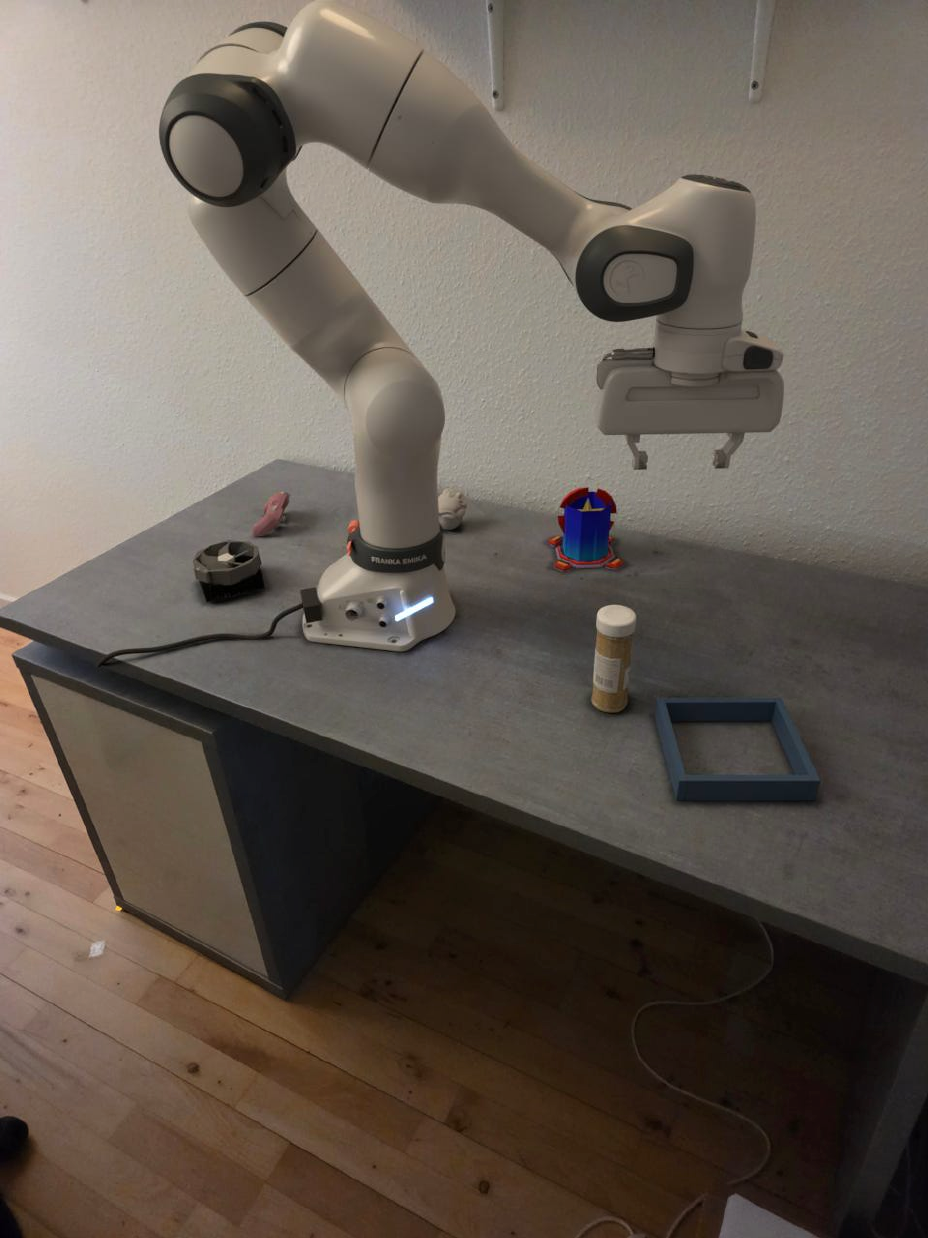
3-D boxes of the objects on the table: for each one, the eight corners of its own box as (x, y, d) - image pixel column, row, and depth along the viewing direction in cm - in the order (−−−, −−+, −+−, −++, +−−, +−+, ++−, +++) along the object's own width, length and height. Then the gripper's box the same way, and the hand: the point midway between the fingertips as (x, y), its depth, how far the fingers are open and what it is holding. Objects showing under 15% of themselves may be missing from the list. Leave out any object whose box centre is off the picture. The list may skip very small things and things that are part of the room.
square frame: (675, 800, 86) (679, 780, 84) (654, 716, 97) (656, 697, 95) (814, 800, 85) (820, 780, 83) (776, 716, 96) (781, 697, 95)
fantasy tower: (613, 535, 136) (619, 470, 129) (627, 570, 126) (633, 501, 120) (545, 538, 136) (547, 473, 129) (553, 573, 126) (555, 504, 120)
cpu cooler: (251, 533, 129) (265, 561, 121) (257, 564, 132) (271, 592, 124) (186, 547, 125) (196, 577, 118) (194, 578, 128) (204, 609, 121)
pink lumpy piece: (274, 545, 140) (286, 513, 137) (249, 535, 139) (261, 502, 136) (285, 520, 149) (297, 489, 145) (262, 510, 147) (273, 479, 144)
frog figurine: (475, 525, 141) (474, 489, 137) (449, 540, 137) (447, 503, 133) (449, 516, 144) (448, 480, 141) (423, 530, 140) (421, 494, 136)
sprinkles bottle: (634, 705, 99) (645, 615, 91) (607, 719, 97) (615, 629, 89) (609, 686, 102) (617, 598, 95) (582, 699, 100) (588, 611, 93)
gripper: (601, 357, 83) (593, 479, 90) (799, 353, 82) (774, 477, 90) (595, 341, 88) (588, 458, 96) (781, 337, 87) (759, 455, 95)
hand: (679, 467), depth 93 cm, fingers open, 8 cm apart
